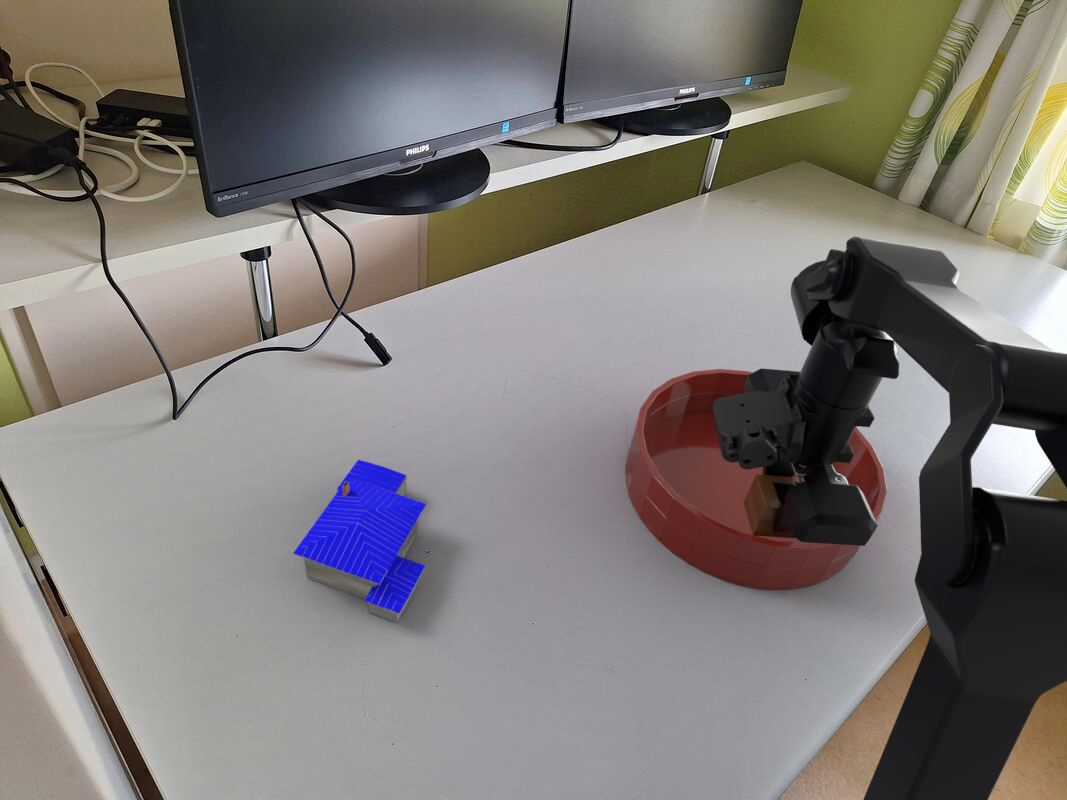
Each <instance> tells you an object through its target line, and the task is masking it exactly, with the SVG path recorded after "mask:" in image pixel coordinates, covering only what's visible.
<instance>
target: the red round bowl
mask: <svg viewBox="0 0 1067 800" xmlns="http://www.w3.org/2000/svg"><path fill="white" fill-rule="evenodd" d="M753 372H754V371H753ZM753 372H752V371H749V370H738V369H726V368H717V369H706V370H705V369H704V370H696V371H691V372H687V373H685V374H681V375H678V376H675V377H672V378H670V379H668V380H667V381H666V382H664V383H662V384H661V385H659V386H658V387H656V388H655V389H653V390H652V391H651V393H650V394H649V395H648V396H647V398H646V399H645V401H644V402H643V404H642V405H641V407H639V408H640V409H639V411H638V415H637V418H636V422H635V426H634V430H633V433H632V436H631V440H630V445H629V448H628V453H627V457H626V460H625V466H624V478H625V484H626V490H627V494H628V497H629V500H630V502H631V504H632V507H633V509H634V510H635V512H636V514H637V516H638V517H639V519H640V520H641V522H642V523H643V525H644V526H645V527H646V529H647V530H648V531H649V532H650V533H651V534H652V535H653V536H654V538H655V539H657V541H658V542H659V543H660V544H661V545H663V546H664V547H665V548H666V549H667V550H669V551H670V552H671V553H672V554H673V555H675V556H677V557H678V558H679V559H681V560H682V561H683V562H685V563H686V564H689V565H690V566H692V567H694V568H695V569H697V570H699V571H701V572H702V573H705V574H707V575H710V576H712V577H715V578H717V579H719V580H721V581H724V582H728V583H731V584H734V585H739V586H741V587H747V588H752V589H758V590H767V591H789V590H797V589H804V588H808V587H811V586H814V585H815V586H816V585H819V584H821V583H823V582H825V581H827V580H829V579H831V578H832V577H834V576H835V575H837V574H838V573H840V572H841V571H842V570H843V569H844V568H845V567H846V566H847V565H848V564H849V562H850V561H851V559H852V558H853V557H854V556H855V555H856V554H857V552H858V551H859V549H860V548H861V546H855V545H839V544H823V543H807V542H801V541H799V540H798V539H797V538H783V537H767V536H754V535H753V534H752V530H751V527H750V524H749V520H748V517H747V513H746V510H745V506H744V500H745V498H746V496H747V494H748V491H749V489H750V487H751V485H752V483H753V480H754V478H755V476H756V474H757V475H762V474H763V467H760V468H754V469H748V470H746V469H743V468H741V467H740V465H739V462H728V461H726V460H725V459H724V458H723V457H722V453H721V449H720V445H719V442H718V438H717V436H716V432H715V423H714V414H713V403H714V402H715V401H716V400H717V399H719V398H722V397H728V396H733V395H738V394H744V392H743V388H744V385H745V383H746V380H747V378H748V375H750V374H751V373H753ZM849 444H850V446H851V449H852V451H853V453H854V456H853V458H852V460H851V462H850V463H842V462H834V463H833V467H834V470H835V472H836V473H838V474H841V475H842V476H844V477H845V478H846V480H847V482H848V484H849V485H857V486H858V487H859V489H860V490H861V491H862V492H863V494H864V496H865V498H866V501H867V503H868V505H869V507H870V509H871V512H872V514H873V516H874V518H875V520H876V522H877V521H878V520H879V518H880V516H881V515H882V513H883V509H884V505H885V502H886V498H887V493H888V488H887V482H886V476H885V475H886V474H885V469H884V467H883V464H882V463H881V460H880V458H879V456H878V455H877V454H878V453H877V452H876V450H875V449H874V446H873V445H872V443H871V442H870V441H869V440H868V438H867V437H866V436H865V435H864V434H863V432H862V431H861V430H860V429H859V428H858V426H857V427H856V429H855V431H854V432H853V434H852V436H851V438H850V440H849ZM792 477H797V476H795V474H794V475H793V476H792ZM797 478H798V480H799V479H800V477H797ZM799 482H800V481H799Z"/></svg>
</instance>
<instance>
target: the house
mask: <svg viewBox="0 0 1067 800" xmlns="http://www.w3.org/2000/svg"><path fill="white" fill-rule="evenodd" d="M406 494H407V474H404V473H402V472H399V471H396V470H393V469H391V468H388V467H385V466H382V465H380V464H377V463H376V464H375V463H372V462H369V461H365V460H362V459H357V460H356V462H355V464H354V465H353V466H352V467H351V469H350V470H349V472H348V473H347V474H346V475H345V477H344V478H343V479H342V481H341V483H340V484H339V486H337V488H336V493H335V494H334V496H333V498H331V500H330V501H329V503H327V506H326V507H325V509H324V510H323V511H322V513H321V514H320V516H318V517H317V519H316V521H314V524H313V525H312V526H311V528H310V529H309V530H308V532H307V533H306V535H305V536H304V537H303V539H302V540H301V541H300V542H299V544H298V545H297V547H296V549H295V550H294V551H293V555H294V556H298V557H300V558H303V559H304V568H305V574H306V578H307V579H309V580H312V581H315V582H318V583H321V584H324V585H325V586H329V587H331V588H334V589H337V590H340V591H342V592H345V593H348V594H351V595H353V596H356V597H359V598H362V599H364V600H363V601H364V602H367V603H368V613H370V614H372V615H375V616H378V617H381V618H384V619H387V620H388V621H392V622H395V623H398V622H399V620H400V619H401V616H402V614H403V612H404V611H405V609H406V607H407V605H408V603H409V601H410V599H411V598H412V596H413V594H414V592H415V590H416V588H417V586H419V585H418V584H419V583H420V582H419V581H420V578H421V576H422V573H423V572H424V570H425V568H426V565H425V564H422V563H419V562H416V561H414V560H410V559H407V558H405V556H406V554H407V552H408V550H409V549H410V547H411V545H412V543H413V542H414V540H415V539H416V536H417V535H418V520H419V518H420V517H421V515H422V513H423V511H424V510H425V508H426V506H427V503H425V502H422V501H419V500H417V499H413V498H410V497H407V496H405V495H406Z"/></svg>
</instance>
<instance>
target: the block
mask: <svg viewBox="0 0 1067 800" xmlns="http://www.w3.org/2000/svg"><path fill="white" fill-rule="evenodd" d="M795 481H799V480H798V478H797V477H785V476H771V475H757V474H756V476H755V478H754V480H753V483H752V485H751V487H750V489H749V491H748V494H747V496H746V498H745V500H744V506H745V510H746V513H747V517H748V520H749V524H750V527H751V530H752V534H753V535H754V536H767V537H783V538H795V537H794V536H793V535H792V532H791V530H790V531H788V532H786V533H775V532H774V531H773V526H774V521H775V517H776V514H777V511H778V508H779V505H780V503H779V501H778V498H777V495H776V492H775V489H774V486H773V482H777V483H791V484H794V482H795Z"/></svg>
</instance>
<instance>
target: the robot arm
mask: <svg viewBox="0 0 1067 800" xmlns="http://www.w3.org/2000/svg"><path fill="white" fill-rule="evenodd" d="M959 276H960V272H959V270H958V268H957V267H956V266H955V265H954V263H953V262H952V261H951V259H949V258H948V256H947V255H946V254H945V253H944V252H943V251H942V250H941V249H938V248H931V247H924V246H918V245H913V244H912V245H911V244H906V243H898V242H892V241H886V240H880V239H874V238H873V239H872V238H869V237H868V238H867V237H862V236H861V237H860V236H852V237H850V238H849V239H848V240H846V244H845V250H842V249H841V250H840V249H833V248H831V249H830V250H829V251H828V254H827V256H826V259H824V260H821V261H817V262H814V263H812V264H810V265H808V266H806V267H805V268H803V269H802V270H801V271H800V272H799V273H798V274H797V276H795V277H794V278H793V280H792V283H791V285H790V298H791V301H792V305H793V308H794V311H795V316H796V319H797V323H798V326H799V330H800V332H801V337H802V339H803V340H804V342H806V343H807V344H808V345H810V346H811V347H810V350H809V351H808V354H807V356H806V358H805V361H804V363H803V365H802V368H801V369H800V371H798V370H787V369H786V370H785V369H773V368H762V367H761V368H759V369H757V370H755V371H753V373H751V374H750V375H748V378H747V380H746V383H745V385H744V388H743V392H744V394H738V395H733V396H728V397H722V398H719V399H717V400H716V401H715V402H714V403H713V414H714V423H715V432H716V436H717V438H718V442H719V445H720V449H721V453H722V457H723V458H724V459H725V460H726V461H728V462H739V465H740V467H741V468H743V469H746V470H748V469H754V468H760V467H763V474H762V475H771V476H785V477H792V476H793V475H794V474H795V476H797V477H800V479H799V481H800V482H799V481H795V482H794V484H791V483H777V482H773V486H774V489H775V492H776V495H777V498H778V501H779V503H780V505H779V508H778V511H777V514H776V517H775V521H774V526H773V531H774V532H775V533H786V532H788V531H790V530H791V532H792V535H793V536H794V537H795V538H797V539H798V540H799V541H801V542H807V543H823V544H839V545H855V546H860V547H865V546H866V545H867V543H868V542H869V541H870V539H871V538H872V537H873V535H874V533H875V532H876V530H877V528H878V527H879V525H878V523H877V521H876V520H875V518H874V516H873V514H872V512H871V509H870V507H869V505H868V503H867V501H866V498H865V496H864V494H863V492H862V491H861V490H860V489H859V487H858V486H857V485H849V484H848V482H847V480H846V478H845V477H844V476H842V475H841V474H838V473H836V472H835V470H834V467H833V463H834V462H842V463H850V462H851V460H852V458H853V456H854V453H853V451H852V449H851V446H850V444H849V440H850V438H851V436H852V434H853V432H854V431H855V429H856V427H857V428H858V427H860V428H870V427H871V425H872V424H873V422H874V420H875V416H874V414H873V412H872V409H871V408H870V406H869V405H870V404H871V401H872V399H873V397H874V395H875V393H876V391H877V389H878V388H879V386H880V384H881V382H882V380H883V379H890V380H896V379H898V378H899V377H900V367H901V366H900V361H899V359H898V356H897V352H898V348H897V346H899V348H900V349H902V350H903V351H904V352H905V353H906V354H907V355H908V356H909V357H910V358H911V359H913V361H915V362H916V364H917V365H919V367H920V368H922V369H923V370H924V371H925V373H927V374H928V375H929V376H930V377H931V378H932V379H934V381H935V382H936V383H937V384H939V385H940V387H942V388H943V390H945V391H946V392H947V393H948V399H949V402H948V403H949V425H948V426H947V428H946V429H945V430H944V432H943V434H942V436H941V437H940V438H939V441H938V442H937V444H936V445H935V447H934V448H933V450H932V452H931V453H930V454H929V456H928V458H927V460H926V461H925V463H924V465H923V467H922V468H921V470H920V472H919V476H918V492H919V522H920V525H919V526H920V530H919V531H920V552H921V553H920V557H919V562H918V565H917V569H916V572H915V576H914V584H915V588H916V591H917V595H918V597H919V600H920V604H921V607H922V611H923V615H924V617H925V621H926V623H927V626H928V630H929V638H928V641H927V644H926V646H925V649H924V651H923V653H922V655H921V659H920V661H919V663H918V665H917V668H916V670H915V673H914V675H913V678H912V679H911V682H910V685H909V687H908V690H907V693H906V695H905V698H904V700H903V701H902V705H901V707H900V710H899V711H898V714H897V716H896V719H895V721H894V724H893V727H892V729H891V731H890V733H889V735H888V738H887V741H886V743H885V746H884V748H883V751H882V753H881V755H880V758H879V760H878V762H877V764H876V768H875V770H874V773H873V775H872V777H871V780H870V782H869V784H868V787H867V789H866V792H865V795H864V797H863V799H862V800H989V799H990V797H991V795H992V793H993V791H994V789H995V787H996V784H997V783H998V781H999V779H1000V777H1001V774H1002V773H1003V770H1004V769H1005V767H1006V765H1007V763H1008V760H1009V758H1010V756H1011V754H1012V753H1013V751H1014V749H1015V746H1016V745H1017V743H1018V740H1019V738H1020V736H1021V735H1022V732H1023V730H1024V728H1025V726H1026V724H1027V722H1028V720H1029V718H1030V716H1031V714H1032V712H1033V709H1034V708H1035V706H1036V704H1037V702H1038V700H1039V699H1040V697H1041V696H1042V695H1044V694H1045V693H1047V692H1049V691H1051V690H1053V689H1054V688H1056V687H1059V686H1060V685H1062V684H1064V683H1065V682H1066V683H1067V500H1064V499H1063V500H1062V499H1056V498H1050V497H1044V496H1038V495H1032V494H1031V495H1030V494H1024V493H1018V492H1013V491H1012V492H1011V491H1006V490H1005V491H1004V490H999V489H993V488H986V487H981V486H980V487H978V486H976V487H975V486H973V477H972V476H973V474H972V458H973V457H974V455H975V452H976V451H977V450H978V449H979V447H980V444H981V443H982V441H983V440H984V439H985V437H986V435H987V433H988V432H989V429H990V428H991V427H992V425H997V426H1003V427H1010V428H1017V429H1023V430H1029V431H1034V436H1035V438H1036V442H1037V444H1038V446H1039V447H1040V448H1041V450H1042V451H1043V453H1044V454H1045V456H1046V458H1047V459H1048V461H1049V463H1050V465H1051V466H1052V467H1053V469H1054V470H1055V472H1056V474H1057V475H1058V477H1059V479H1060V480H1061V482H1062V483H1063V485H1064V486H1065V489H1067V352H1063V351H1056V350H1054V349H1052V348H1051V347H1049V346H1047V345H1046V344H1044V343H1043V342H1041V341H1040V340H1039V339H1037V338H1035V337H1034V336H1032V335H1031V334H1029V333H1028V332H1026V331H1024V330H1023V329H1021V328H1020V327H1018V326H1016V325H1015V324H1014V323H1012V322H1011V321H1009V320H1008V319H1006V318H1004V317H1003V316H1001V315H1000V314H998V313H997V312H995V311H994V310H992V309H990V308H989V307H987V306H986V305H984V304H983V303H981V302H979V301H978V300H976V299H975V298H973V297H972V296H970V295H969V294H967V293H966V292H965V291H963V290H961V289H960V288H959V287H958V286H957V285H956V284H957V281H958V279H959ZM896 345H897V346H896Z"/></svg>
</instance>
